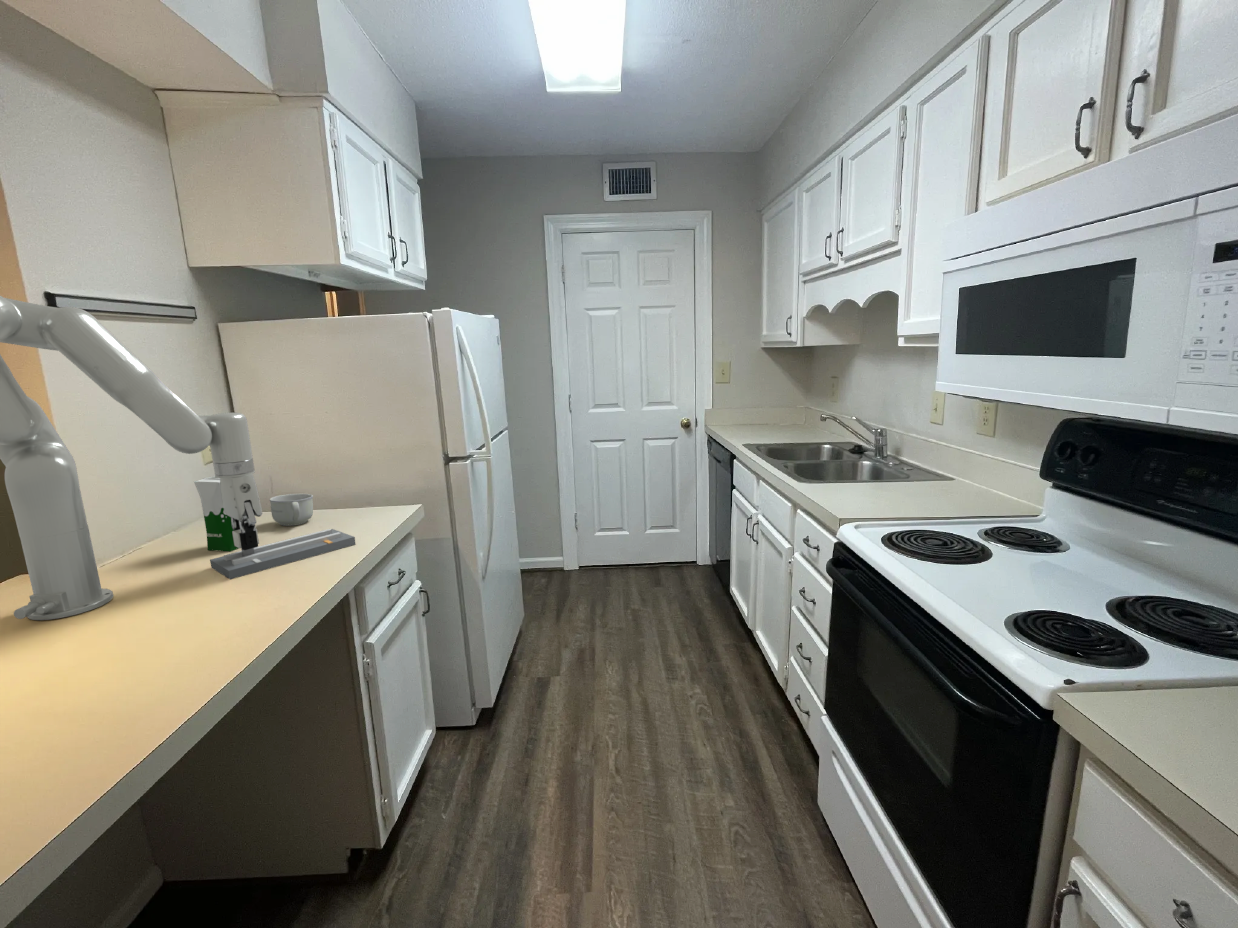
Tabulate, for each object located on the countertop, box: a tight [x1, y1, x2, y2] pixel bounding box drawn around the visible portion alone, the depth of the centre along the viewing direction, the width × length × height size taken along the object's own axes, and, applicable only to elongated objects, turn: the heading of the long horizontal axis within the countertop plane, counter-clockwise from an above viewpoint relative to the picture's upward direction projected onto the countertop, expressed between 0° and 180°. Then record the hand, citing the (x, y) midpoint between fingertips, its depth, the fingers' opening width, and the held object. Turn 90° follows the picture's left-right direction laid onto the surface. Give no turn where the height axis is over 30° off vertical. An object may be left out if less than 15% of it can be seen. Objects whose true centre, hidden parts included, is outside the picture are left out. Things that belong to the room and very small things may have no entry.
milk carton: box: [193, 475, 247, 553], centre depth 148 cm, size 9×9×20 cm
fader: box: [232, 528, 260, 557], centre depth 134 cm, size 4×3×6 cm
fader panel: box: [209, 528, 356, 580], centre depth 141 cm, size 28×12×3 cm, turn 141°
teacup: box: [269, 493, 314, 527], centre depth 167 cm, size 14×11×8 cm
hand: (246, 546), depth 135 cm, fingers closed on fader, 3 cm apart
